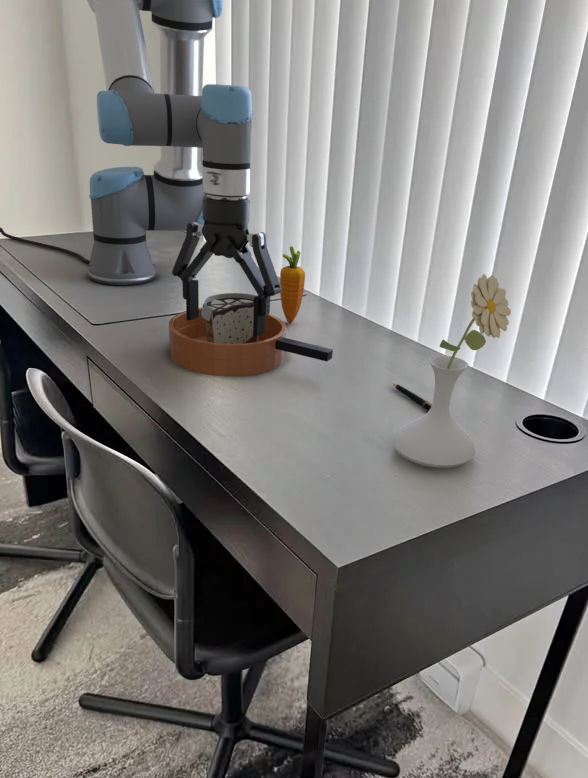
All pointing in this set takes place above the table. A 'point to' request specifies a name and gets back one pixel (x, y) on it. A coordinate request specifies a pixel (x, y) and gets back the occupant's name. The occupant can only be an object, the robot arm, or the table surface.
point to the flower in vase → (436, 428)
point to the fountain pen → (414, 397)
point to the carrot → (291, 286)
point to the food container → (229, 318)
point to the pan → (223, 348)
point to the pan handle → (304, 349)
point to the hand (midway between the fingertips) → (225, 326)
